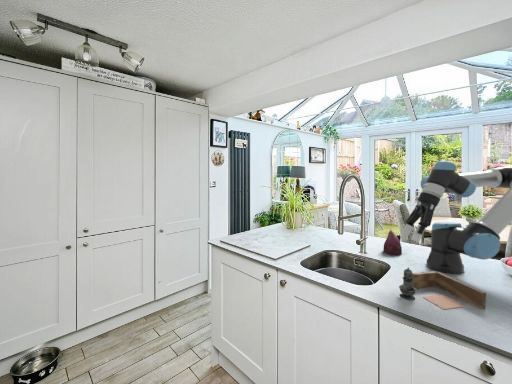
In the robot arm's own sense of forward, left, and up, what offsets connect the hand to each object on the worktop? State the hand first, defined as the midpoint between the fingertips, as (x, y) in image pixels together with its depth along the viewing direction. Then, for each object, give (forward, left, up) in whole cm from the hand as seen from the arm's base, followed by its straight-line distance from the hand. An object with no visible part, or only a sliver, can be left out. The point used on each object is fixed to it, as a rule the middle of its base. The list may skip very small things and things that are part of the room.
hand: (408, 239), depth 108 cm
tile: (-2, +16, -20) cm, 25 cm away
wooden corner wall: (-6, +13, -20) cm, 24 cm away
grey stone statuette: (+8, +10, -20) cm, 24 cm away
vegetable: (-23, -38, -20) cm, 49 cm away
